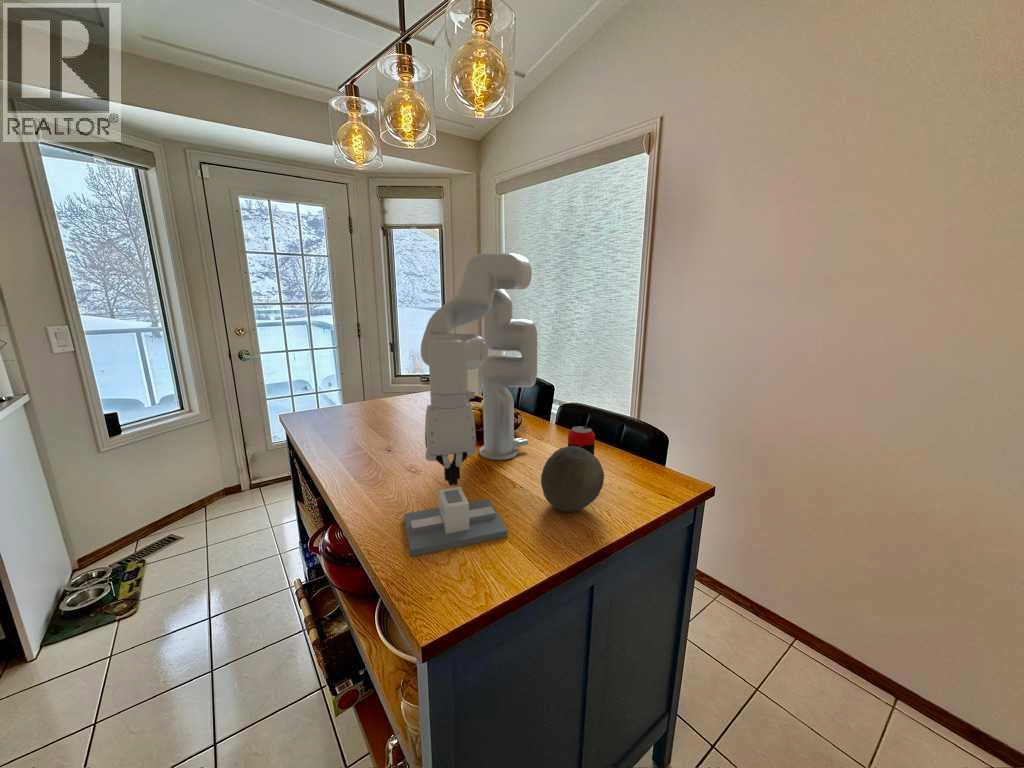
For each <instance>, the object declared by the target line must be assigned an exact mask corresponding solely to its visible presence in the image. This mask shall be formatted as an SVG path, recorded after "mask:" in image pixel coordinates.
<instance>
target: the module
mask: <svg viewBox="0 0 1024 768" xmlns="http://www.w3.org/2000/svg"><path fill="white" fill-rule="evenodd" d="M437 491H438V508H439V515H442V518H443V521H444V530H445V533H446V534H449V533H454V532H459V531H464V530H469V500H468V499H467V497H466V495H465V493H464V491H463V489H462V487H461V486H456V487H448V488H444V489H442V488H441V489H438V490H437Z"/></svg>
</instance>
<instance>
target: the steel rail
mask: <svg viewBox="0 0 1024 768" xmlns="http://www.w3.org/2000/svg"><path fill="white" fill-rule="evenodd" d="M492 518H495V511H494V510H493V508H492V506H490V507H485V508H479V509H474V510H469V523H471V522H476V521H481V520H487V519H492ZM411 528H412V533H418V532H424V531H429V530H434V529H439V528H444V521H443V518H442V515H440V516H435V517H429V518H424V519H418V520H413V521H411Z"/></svg>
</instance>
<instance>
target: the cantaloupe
mask: <svg viewBox="0 0 1024 768" xmlns="http://www.w3.org/2000/svg"><path fill="white" fill-rule="evenodd" d="M604 481H605V473H604V469H603V466H602V464H601V462H600V460H599V459H598V458H597V457H596V456H595V454H594V455H593V454H591V453H590V452H588V451H587V450H585V449H583V448H581V447H576V446H568V445H567V446H564V447H561V448H559V449H557V450H555V451H554V452H553V453H552V454H551V455H550V456H549V458H547V460H546V461H545V464H544V466H543V468H542V472H541V477H540V484H541V488H542V492H543V496H544V498H545V499H546V501H547V502H548V504H550V505H551V506H552V507H553V508H554V509H556V510H558V511H561V512H565V513H566V512H567V513H569V512H570V513H572V512H577V511H580V510H583V509H585V508H586V507H588V506H590V504H592V503H593V502H594V501H595V500H596V499H597V497H598V496H599V494H600V493H601V490H602V488H603V484H604Z"/></svg>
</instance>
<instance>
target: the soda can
mask: <svg viewBox="0 0 1024 768" xmlns="http://www.w3.org/2000/svg"><path fill="white" fill-rule="evenodd" d="M595 442H596V434H595V433H594V431H593V429H592V428H590V427H587V426H580V425H579V426H573V427H572V428H571V429H570V430H569V431H568V433H567V447H568V446H576V447H581V448H583V449H585V450H587V451H588V452H590V453H591V454H593V455H594V456H595Z"/></svg>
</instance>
